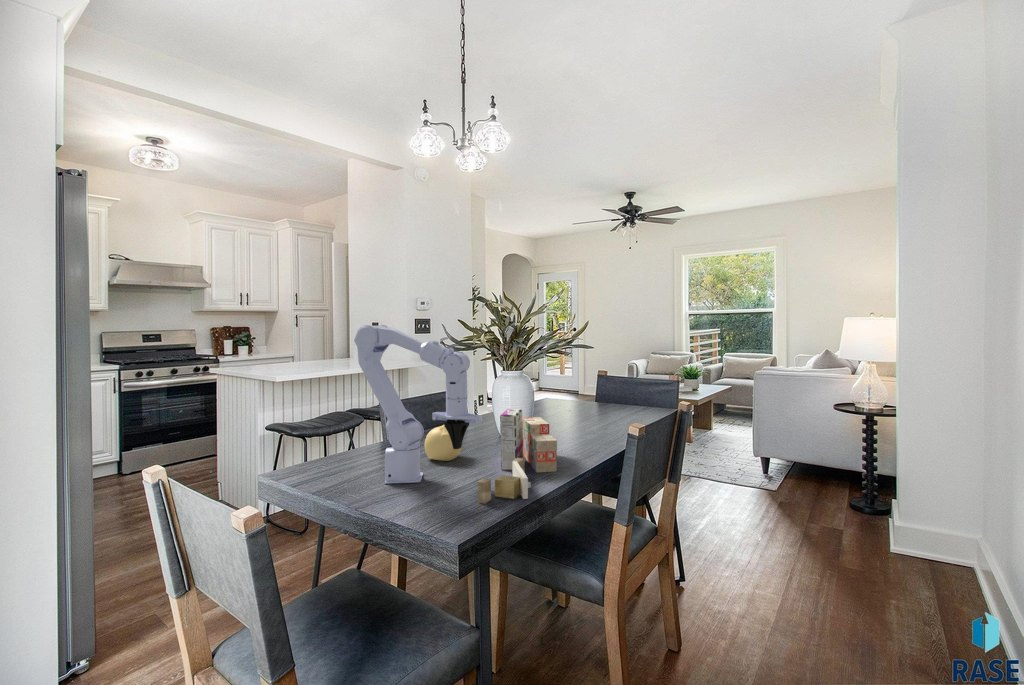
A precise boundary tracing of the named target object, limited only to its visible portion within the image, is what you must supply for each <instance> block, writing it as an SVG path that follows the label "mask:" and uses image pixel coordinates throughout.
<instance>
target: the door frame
mask: <svg viewBox="0 0 1024 685" xmlns="http://www.w3.org/2000/svg"><path fill="white" fill-rule="evenodd" d="M513 461H517V462H518V464H519V465H520V467H521V468H522V470H523V472H524V473H525V457H523V458H516V459H515V460H513ZM513 461H512V462H513ZM511 476H513V465H512V470H511ZM491 500H492V479H491V478H481V479H479V480H478V481H477V503H479V504H484V505H485V504H487V503H488V502H490V501H491Z"/></svg>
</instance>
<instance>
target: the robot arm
mask: <svg viewBox="0 0 1024 685" xmlns="http://www.w3.org/2000/svg"><path fill="white" fill-rule="evenodd" d="M353 342H354V344H355V345H356V347H357V359H358V365H359V366H360V368H361V371H362V372H363V374H364V376H365V378H366V380H367V383H369V385H370V389H371V390H372V392H373V394H374V395H375V397H376V399H377V401H378V403H379V405H380V407H381V409H382V411H383V413H384V415H385V417H386V419H387V420H386V424H385V429H386V431H387V434H388V435H387V436H388V442H389V444H390V445H391V446H392V447H386V449H385V452H384V484H385V485H386V484H388V485H389V484H413V483H414V484H415V483H421V482H422V478H423V475H424V472H421V440H422V438H423V437H424V432H425V430H424V426H423V425H422V423H421V422H420V421H418V420H417V419H416V418H415V416H414V414H413V413H412V412H410V411H408V410H407V409H406V408H405V405H404V404H403V402H402V399H401V398H400V397H399V394H398V391H396V389H395V387H394V385H393V383H392V381H391V379H390V377H389V375H388V373H387V372H386V370H385V367H384V366H383V363H382V362H381V360H382V357H383V354H384V353H385V351H386V350H387V349H388V348H389V346H390V345H395V346H398V347H400V348H402V349H406V350H408V351H411V352H413V353H416V354H418V356H419V358H420V360H421V361H423V362H425V363H427V364H429V365H432V366H434V367H436V368H438V369H440V370H442V371H443V372H444V374H445V411H435V412H432V413H431V419H432V421H446V422H445V423H444V424H443V425H444V426H445V428H446V430H447V431H448V433H449V436H450V438H451V442H452V445H453V449H460V448H461V446H462V445H463V441H464V437H465V434H466V432H467V430H468V427H470V423H472V424H475V425H480V424H482V423H483V414H482V415H480V414H474V413H469V412H468V370H469V369H470V366H471V362H470V358H469V357H468V355H467V354H466V353H464V352H462V351H456V352H455V349H454V348H452V347H451V348H448V347H446V346H443V345H441V344H439V343H440V342H439V341H437V340H432V341H431V340H428V341H426V342H422V341H421V340H419V339H416V338H414V337H413V336H411V335H409V334H407V333H405V332H403V331H400V330H398V329H396V328H394V327H389V326H388V325H385V324H381V325H368V324H364V325H362V326H360V327H359V328H358V330H357V331H356V334H355V336H354V340H353ZM462 447H463V446H462Z"/></svg>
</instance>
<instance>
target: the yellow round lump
mask: <svg viewBox="0 0 1024 685" xmlns="http://www.w3.org/2000/svg"><path fill="white" fill-rule="evenodd" d="M462 449H463V446H461V448H460V449H453V445H452V442H451V438H450V436H449V433H448V431H447V430H446V428H445V426H444V424H443V425H441V426H437V427H434V428H433V429H431V430H430V431H429V432H428V433H427V435H426V437H425V439H424V451H425V454H426V455H427V457H428V458H429V459H431V460H436V461H442V462H443V461H444V462H445V461H446V462H448V461H453V460H454V459H456V458H457V457H459V454H460V453H461V450H462Z"/></svg>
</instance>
